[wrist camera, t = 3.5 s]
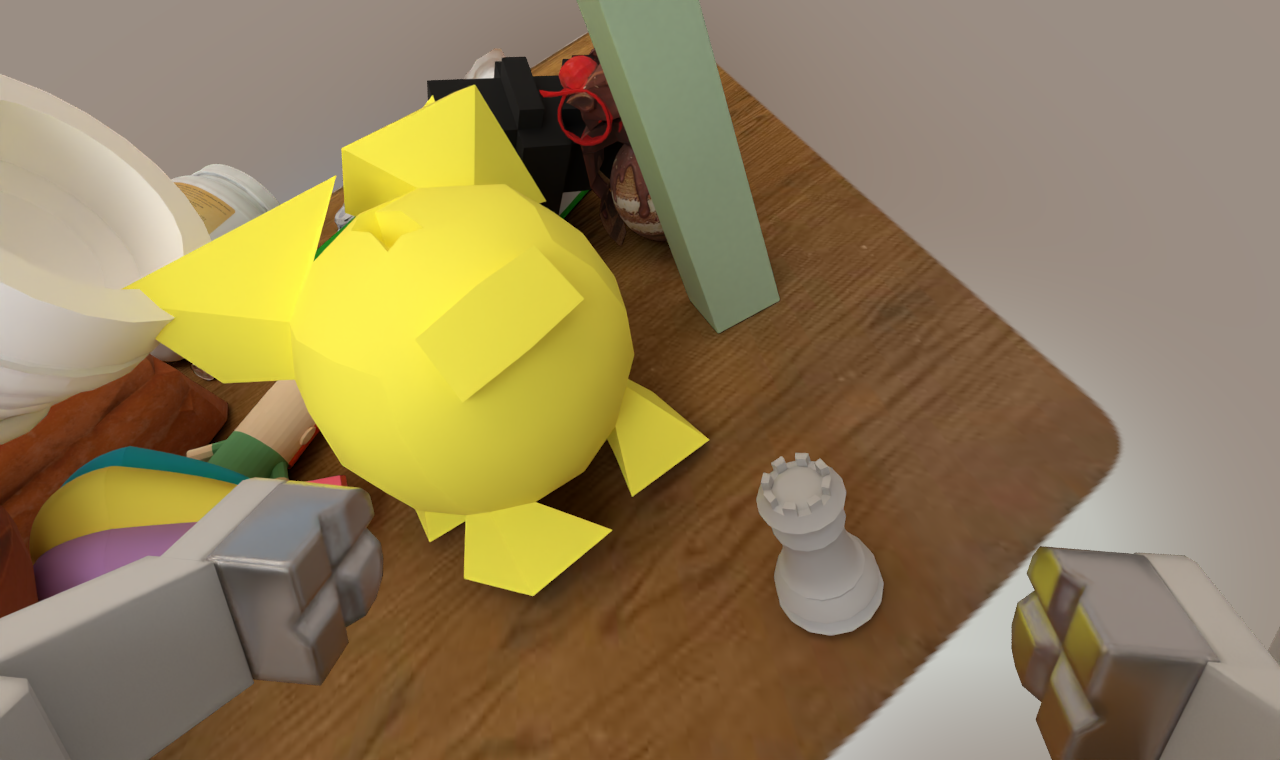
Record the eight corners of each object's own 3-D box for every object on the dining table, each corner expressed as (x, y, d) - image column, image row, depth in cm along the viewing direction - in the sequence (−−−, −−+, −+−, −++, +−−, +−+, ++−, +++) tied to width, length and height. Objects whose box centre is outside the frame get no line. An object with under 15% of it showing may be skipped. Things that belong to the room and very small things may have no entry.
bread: (253, 414, 57) (150, 313, 50) (-84, 742, 44) (-287, 666, 37) (167, 382, 66) (68, 293, 59) (-136, 647, 53) (-308, 571, 46)
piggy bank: (560, 311, 53) (420, 50, 40) (767, 411, 40) (654, 67, 27) (331, 506, 46) (78, 265, 34) (487, 703, 33) (164, 429, 20)
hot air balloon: (-5, 709, 32) (99, 652, 43) (356, 619, 37) (369, 587, 47) (-37, 461, 33) (72, 465, 44) (320, 403, 38) (341, 419, 48)
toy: (631, 37, 54) (421, 42, 49) (667, 119, 51) (447, 133, 46) (603, 154, 64) (427, 168, 59) (632, 229, 61) (448, 250, 56)
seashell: (543, 87, 87) (504, 129, 92) (519, 49, 87) (481, 93, 92) (499, 86, 81) (460, 131, 85) (474, 45, 81) (435, 93, 85)
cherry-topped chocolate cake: (605, 272, 55) (517, 81, 45) (629, 210, 60) (555, 26, 50) (728, 254, 51) (661, 42, 41) (742, 189, 56) (686, -13, 47)
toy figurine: (269, 562, 48) (376, 416, 54) (240, 537, 44) (359, 383, 50) (168, 512, 49) (283, 376, 55) (132, 484, 45) (260, 341, 52)
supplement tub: (138, 372, 71) (252, 265, 81) (211, 363, 64) (324, 249, 75) (26, 271, 63) (167, 168, 74) (96, 250, 57) (239, 142, 68)
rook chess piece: (763, 619, 32) (714, 514, 26) (801, 534, 34) (763, 422, 29) (864, 656, 29) (833, 549, 24) (899, 562, 31) (877, 445, 26)
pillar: (748, 269, 49) (640, -92, 35) (780, 300, 46) (677, -84, 32) (689, 300, 49) (557, -50, 35) (718, 334, 46) (584, -38, 31)
